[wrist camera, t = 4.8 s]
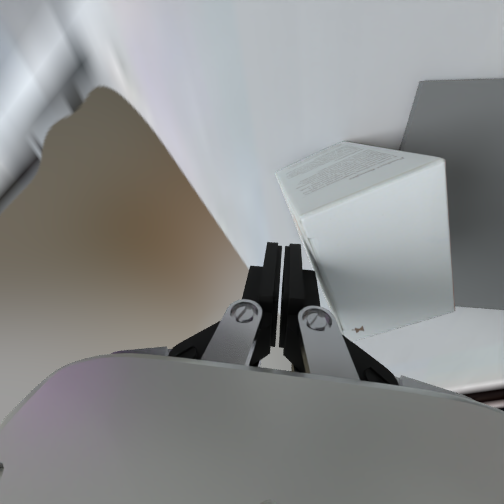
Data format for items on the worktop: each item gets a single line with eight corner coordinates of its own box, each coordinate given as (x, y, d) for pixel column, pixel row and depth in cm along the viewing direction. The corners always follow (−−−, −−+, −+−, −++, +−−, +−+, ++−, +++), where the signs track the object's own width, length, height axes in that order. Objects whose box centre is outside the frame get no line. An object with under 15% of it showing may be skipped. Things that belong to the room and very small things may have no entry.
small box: (365, 230, 21) (459, 315, 12) (304, 253, 22) (346, 348, 13) (344, 137, 17) (453, 154, 8) (272, 170, 18) (297, 218, 9)
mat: (419, 81, 15) (423, 81, 15) (735, 72, 13) (753, 70, 12) (357, 294, 25) (358, 298, 24) (533, 308, 23) (538, 312, 22)
